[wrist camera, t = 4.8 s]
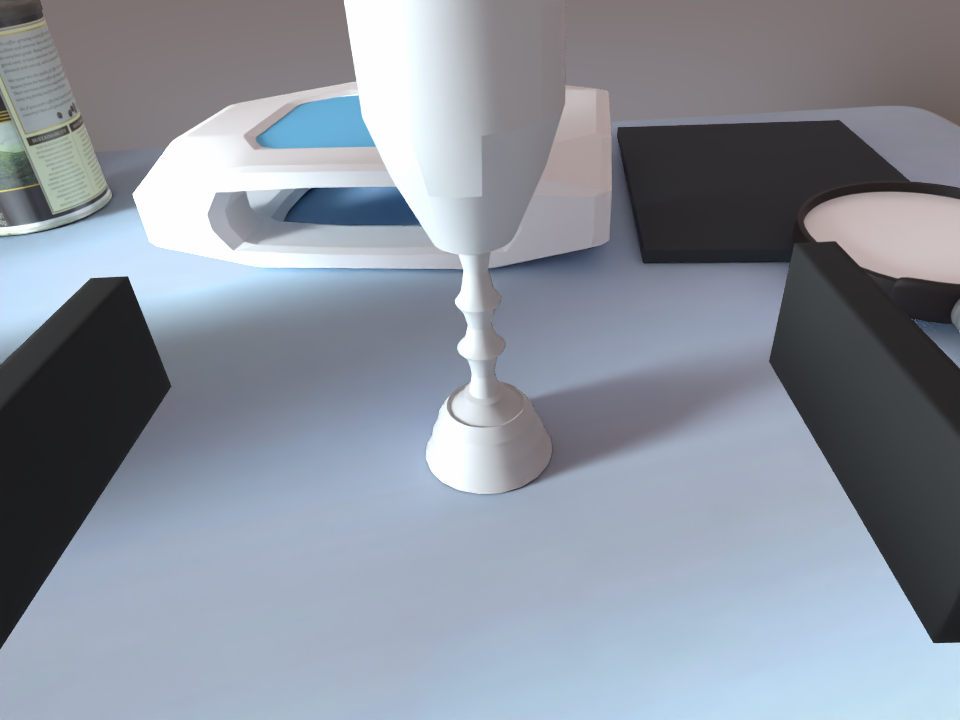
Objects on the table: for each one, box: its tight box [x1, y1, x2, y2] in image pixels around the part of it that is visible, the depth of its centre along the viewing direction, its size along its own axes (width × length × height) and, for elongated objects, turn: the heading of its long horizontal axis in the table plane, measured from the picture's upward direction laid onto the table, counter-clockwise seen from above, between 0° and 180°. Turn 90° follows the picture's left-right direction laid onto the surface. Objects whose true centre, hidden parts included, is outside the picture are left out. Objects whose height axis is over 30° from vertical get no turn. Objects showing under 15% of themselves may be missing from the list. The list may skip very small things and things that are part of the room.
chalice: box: [344, 0, 566, 494], centre depth 22 cm, size 7×7×18 cm
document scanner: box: [133, 81, 612, 269], centre depth 47 cm, size 21×28×6 cm
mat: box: [617, 120, 910, 263], centre depth 48 cm, size 18×24×1 cm
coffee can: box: [0, 0, 112, 236], centre depth 49 cm, size 10×10×14 cm
